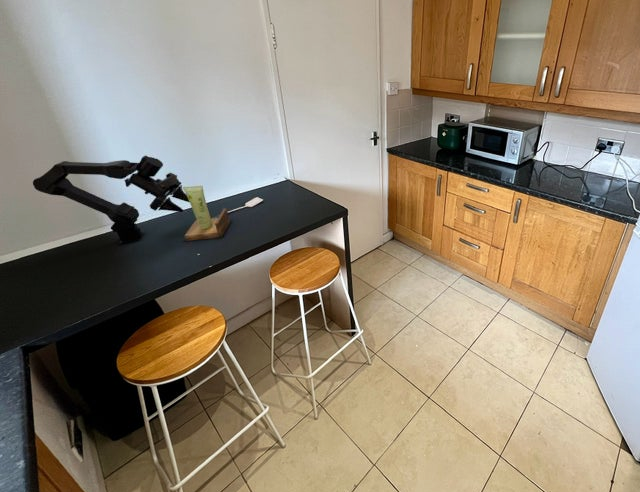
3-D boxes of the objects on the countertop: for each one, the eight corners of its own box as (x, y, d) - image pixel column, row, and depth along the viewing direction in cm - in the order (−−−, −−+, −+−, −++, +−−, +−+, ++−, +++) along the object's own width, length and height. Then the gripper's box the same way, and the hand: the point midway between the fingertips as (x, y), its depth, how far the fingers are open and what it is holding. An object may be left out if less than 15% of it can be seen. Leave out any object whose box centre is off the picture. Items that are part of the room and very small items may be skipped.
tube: (201, 231, 135) (187, 189, 126) (196, 227, 138) (182, 186, 129) (214, 226, 139) (202, 185, 130) (209, 222, 141) (197, 182, 133)
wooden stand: (186, 240, 132) (180, 226, 129) (197, 224, 145) (193, 211, 141) (222, 237, 135) (217, 223, 132) (230, 221, 147) (226, 208, 144)
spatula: (264, 202, 166) (263, 199, 165) (207, 225, 144) (206, 222, 143) (257, 199, 169) (256, 196, 168) (200, 221, 147) (199, 218, 147)
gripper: (148, 178, 116) (189, 202, 123) (169, 162, 133) (205, 184, 140) (132, 199, 118) (173, 221, 125) (154, 181, 134) (190, 201, 142)
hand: (186, 206), depth 133 cm, fingers open, 9 cm apart
